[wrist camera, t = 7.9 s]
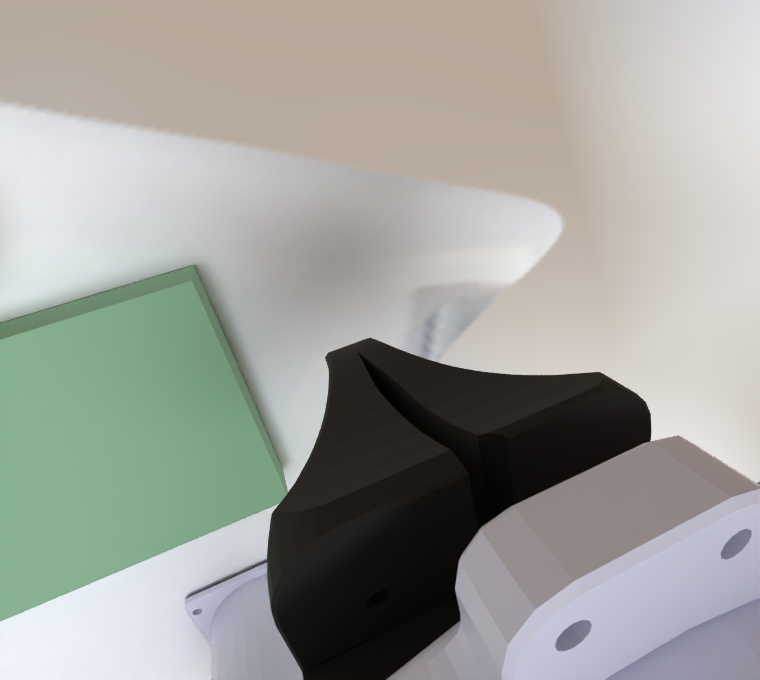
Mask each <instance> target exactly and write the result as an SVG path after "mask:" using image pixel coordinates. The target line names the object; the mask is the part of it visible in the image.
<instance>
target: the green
mask: <svg viewBox="0 0 760 680" xmlns="http://www.w3.org/2000/svg"><path fill="white" fill-rule="evenodd" d="M287 493H288V491H287V487H286V482H285V477H284V473H283V468H282V466H281V463H280V461H279V459H278V457H277V454H276V452H275V450H274V447H273V445H272V443H271V440H270V438H269V436H268V434H267V431H266V429H265V427H264V424H263V422H262V420H261V417H260V415H259V413H258V410H257V408H256V406H255V404H254V401H253V399H252V397H251V394H250V392H249V390H248V387H247V385H246V383H245V381H244V378H243V376H242V374H241V371H240V369H239V367H238V364H237V362H236V360H235V358H234V355H233V353H232V351H231V348H230V346H229V344H228V341H227V339H226V337H225V335H224V332H223V330H222V328H221V325H220V323H219V321H218V318H217V316H216V314H215V311H214V309H213V307H212V305H211V302H210V300H209V298H208V295H207V293H206V291H205V288H204V286H203V284H202V282H201V279H200V277H199V275H198V272H197V270H196V268H195V265H192V266H188V267H185V268H182V269H178V270H175V271H172V272H168V273H165V274H162V275H159V276H155V277H152V278H149V279H145V280H142V281H139V282H135V283H132V284H129V285H125V286H122V287H119V288H115V289H112V290H109V291H105V292H102V293H99V294H95V295H92V296H89V297H85V298H82V299H79V300H75V301H72V302H69V303H65V304H62V305H59V306H55V307H52V308H49V309H45V310H42V311H39V312H35V313H32V314H29V315H26V316H22V317H19V318H16V319H12V320H9V321H6V322H2V323H0V621H3V620H5V619H7V618H10V617H12V616H14V615H17V614H19V613H22V612H24V611H26V610H29V609H31V608H33V607H36V606H38V605H40V604H43V603H45V602H48V601H50V600H52V599H55V598H57V597H59V596H62V595H64V594H66V593H69V592H71V591H73V590H76V589H78V588H81V587H83V586H85V585H88V584H90V583H92V582H95V581H97V580H99V579H102V578H104V577H107V576H109V575H111V574H114V573H116V572H118V571H121V570H123V569H125V568H128V567H130V566H133V565H135V564H137V563H140V562H142V561H144V560H147V559H149V558H151V557H154V556H156V555H159V554H161V553H163V552H166V551H168V550H170V549H173V548H175V547H177V546H180V545H182V544H184V543H187V542H189V541H192V540H194V539H196V538H199V537H201V536H203V535H206V534H208V533H210V532H213V531H215V530H218V529H220V528H222V527H225V526H227V525H229V524H232V523H234V522H236V521H239V520H241V519H244V518H246V517H248V516H251V515H253V514H255V513H258V512H260V511H262V510H265V509H267V508H270V507H272V506H274V505H277V504H279V503H281V501H282V500H283V499H284V497H285V496H286V495H287Z"/></svg>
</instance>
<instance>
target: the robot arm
mask: <svg viewBox="0 0 760 680" xmlns="http://www.w3.org/2000/svg"><path fill="white" fill-rule="evenodd" d="M325 359H326V362H327V365H328V368H329V389H328V397H327V404H326V410H325V414H324V418H323V422H322V426H321V429H320V432H319V435H318V438H317V440H316V443H315V445H314V448H313V450H312V452H311V455H310V457H309V459H308V461H307V463H306V464H305V466H304V468H303V470H302V472H301V474H300V475H299V477H298V479H297V481H296V482H295V484H294V485H293V487H292V488H291V489H290V491H289V492H288V493H287V495H286V496H285V497H284V499H283V500H282V501H281V503H280V504H279V505H278V506H277V508H276V509H275V510H274V511H273V513H272V516H271V523H270V530H269V539H268V551H267V562H266V563H264V564H262V565H260V566H257V567H255V568H253V569H251V570H249V571H246V572H244V573H242V574H240V575H237V576H235V577H233V578H231V579H228V580H226V581H224V582H222V583H220V584H217V585H215V586H213V587H211V588H208V589H206V590H204V591H202V592H199V593H197V594H195V595H193V596H191V597H189V598H188V599H187V600H186V601H185V610H186V612H187V613H188V615H189V616H190V617H191V619H192V620H193V622H194V623H195V624H196V626H197V627H198V628H199V630H200V631H201V633H202V634H203V635H204V637H205V638H206V639H207V641H208V642H209V644H210V645H211V680H760V482H758V483H755V482H754V481H752V480H751V479H749V478H747V477H746V476H744V475H743V474H741V473H739V472H738V471H736V470H735V469H733V468H731V467H730V466H728V465H727V464H725V463H724V462H722V461H720V460H719V459H717V458H716V457H714V456H712V455H711V454H709V453H708V452H706V451H704V450H703V449H701V448H700V447H698V446H696V445H695V444H693V443H691V442H689V441H688V440H686V439H684V438H682V437H680V436H673V437H668V438H664V439H660V440H655V441H652V442H650V440H651V414H650V412H649V409H648V407H647V404H646V402H645V401H644V400H643V399H642V398H640V397H639V396H638V395H637V394H635V393H634V392H633V391H631V390H629V389H628V388H626V387H624V386H623V385H621V384H619V383H617V382H616V381H614V380H612V379H611V378H609V377H608V376H606V375H604V374H602V373H600V372H594V373H580V374H566V375H510V374H499V373H488V372H481V371H474V370H469V369H463V368H458V367H452V366H449V365H444V364H441V363H438V362H434V361H431V360H427V359H424V358H421V357H418V356H415V355H413V354H410V353H407V352H404V351H402V350H399V349H397V348H394V347H392V346H390V345H387V344H385V343H382V342H380V341H378V340H375V339H372V338H368V339H365V340H362V341H359V342H357V343H354V344H351V345H348V346H345V347H343V348H340V349H337V350H334V351H332V352H329V353H328V354H327V356H326V357H325Z"/></svg>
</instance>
